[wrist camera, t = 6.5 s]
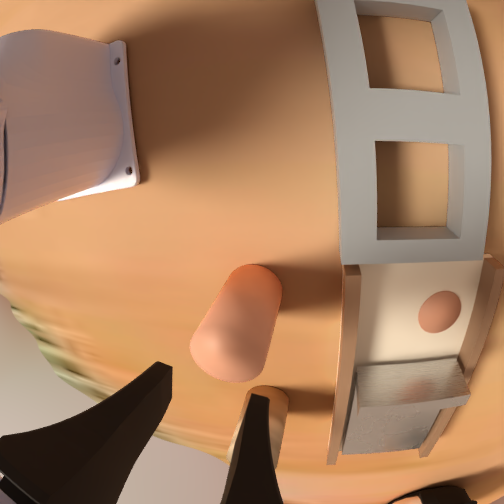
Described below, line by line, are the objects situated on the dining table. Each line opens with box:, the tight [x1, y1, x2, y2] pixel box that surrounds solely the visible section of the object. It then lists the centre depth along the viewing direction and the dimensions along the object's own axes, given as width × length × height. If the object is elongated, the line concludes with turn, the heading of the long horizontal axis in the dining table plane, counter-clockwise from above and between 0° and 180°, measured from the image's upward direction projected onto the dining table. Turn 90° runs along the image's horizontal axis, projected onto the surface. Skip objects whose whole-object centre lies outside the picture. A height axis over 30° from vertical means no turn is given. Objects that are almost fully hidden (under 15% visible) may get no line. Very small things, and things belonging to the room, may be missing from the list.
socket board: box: [314, 0, 491, 265], centre depth 12 cm, size 14×8×2 cm, turn 7°
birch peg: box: [227, 386, 289, 469], centre depth 19 cm, size 3×3×6 cm
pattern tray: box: [327, 254, 504, 465], centre depth 17 cm, size 19×10×2 cm, turn 7°
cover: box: [342, 358, 471, 455], centre depth 17 cm, size 10×7×4 cm
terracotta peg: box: [190, 264, 283, 383], centre depth 15 cm, size 3×3×6 cm
